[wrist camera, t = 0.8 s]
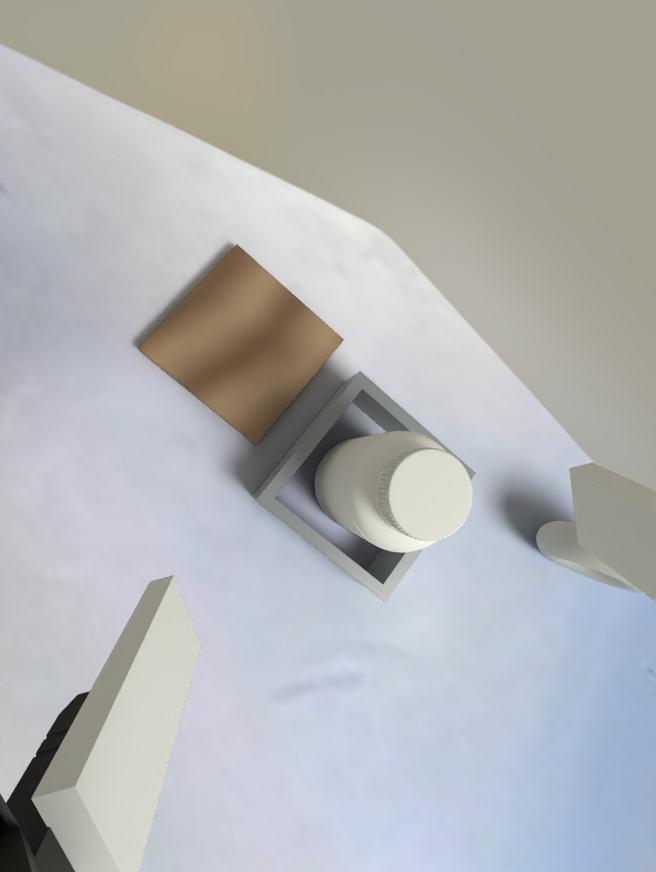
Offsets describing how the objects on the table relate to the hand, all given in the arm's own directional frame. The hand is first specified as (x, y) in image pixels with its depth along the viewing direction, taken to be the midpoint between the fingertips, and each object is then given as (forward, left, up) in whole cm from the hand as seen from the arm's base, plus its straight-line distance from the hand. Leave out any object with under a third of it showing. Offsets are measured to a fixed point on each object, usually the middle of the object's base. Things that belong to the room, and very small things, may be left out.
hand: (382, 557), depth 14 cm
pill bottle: (+4, +5, -24) cm, 25 cm away
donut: (+24, +13, -24) cm, 37 cm away
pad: (-11, +8, -24) cm, 28 cm away
